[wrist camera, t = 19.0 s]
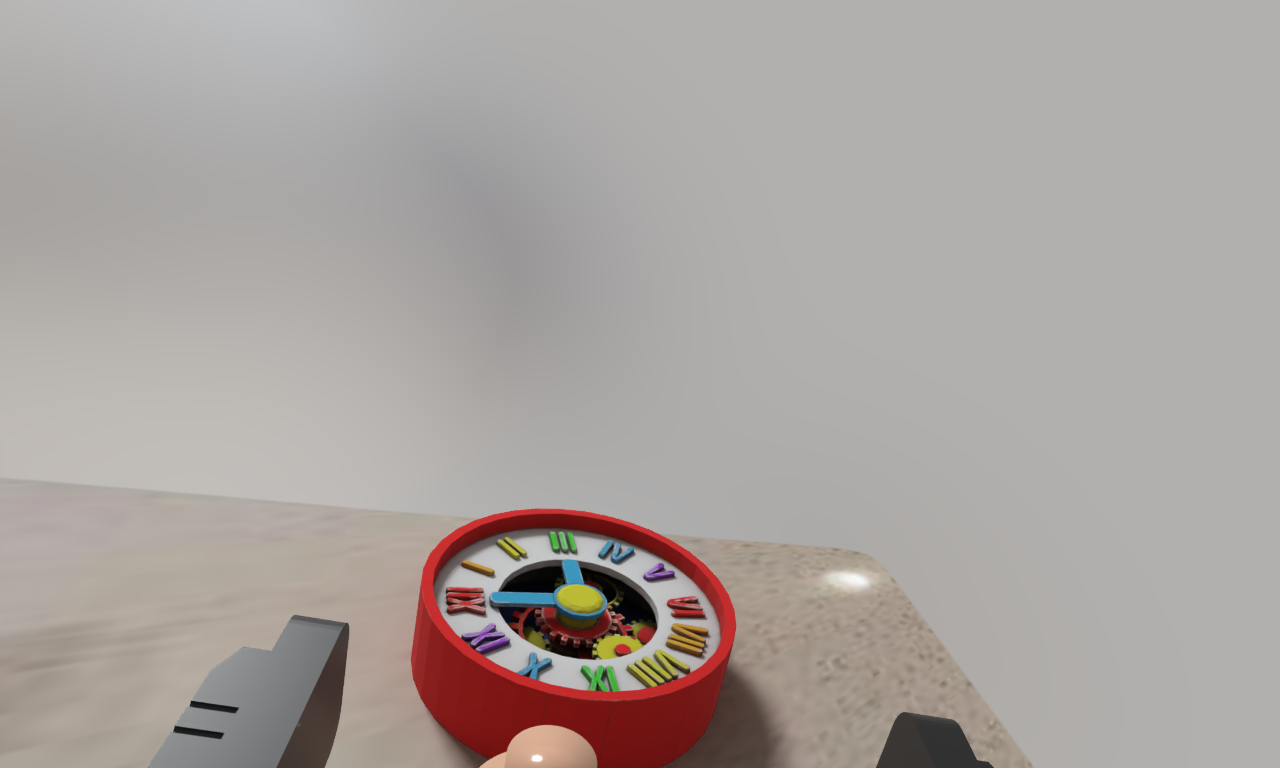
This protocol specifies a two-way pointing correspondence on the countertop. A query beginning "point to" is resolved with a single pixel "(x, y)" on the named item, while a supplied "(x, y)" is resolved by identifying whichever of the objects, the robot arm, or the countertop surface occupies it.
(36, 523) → the countertop surface
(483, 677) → the toy clock
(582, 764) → the peach bottle
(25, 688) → the countertop surface
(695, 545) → the countertop surface
